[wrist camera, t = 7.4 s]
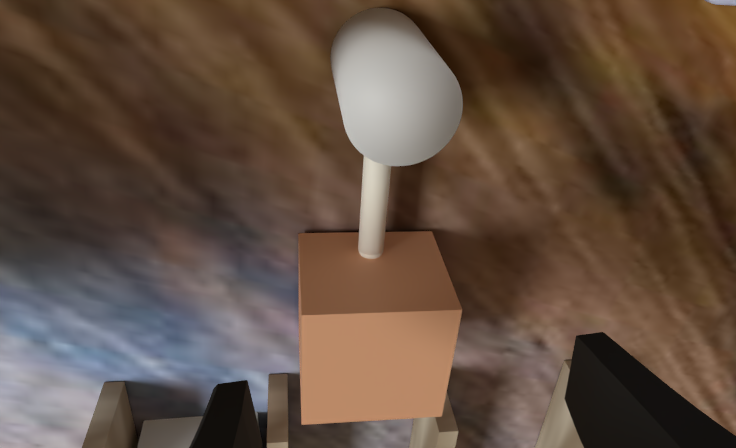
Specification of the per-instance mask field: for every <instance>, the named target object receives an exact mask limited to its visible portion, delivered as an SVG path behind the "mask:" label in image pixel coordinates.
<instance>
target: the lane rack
mask: <svg viewBox="0 0 736 448" xmlns="http://www.w3.org/2000/svg"><path fill="white" fill-rule="evenodd" d="M571 361H572V360H564V363H563V366H562V369H561V372H560V375H559V378H558V381H557V384H556V387H555V390H554V393H553V396H552V399H551V402H550V405H549V408H548V411H547V414H546V417H545V420H544V423H543V426H542V429H541V432H540V435H539V438H538V441H537V443H536V446H535V448H584V447H583V445H582V443H581V440H580V438H579V435H578V433H577V431H576V428H575V426H574V423H573V420H572V418H571V415H570V412H569V410H568V407H567V404H566V402H565V399H564V398H565V393H566V388H567V382H568V377H569V372H570V367H571ZM458 432H459V431H458V427H457V424H456V421H455V417H454V414H453V411H452V408H451V404H450V401H449V398H448V394H447V392H446V397H445V403H444V408H443V413H442V416H441V417H425V418H414V421H413V427H412V434H411V440H410V447H409V448H455V445H456V441H457V436H458ZM138 443H139V442H138V438H137V434H136V430H135V425H134V421H133V417H132V412H131V408H130V404H129V400H128V395H127V391H126V387H125V383H124V382H104V385H103V388H102V390H101V393H100V396H99V399H98V402H97V405H96V408H95V411H94V414H93V417H92V420H91V423H90V426H89V429H88V432H87V434H86V437H85V440H84V443H83V446H82V448H137V447H138ZM267 448H289V432H288V379H287V374H271V375H269V385H268V418H267Z"/></svg>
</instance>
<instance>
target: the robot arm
mask: <svg viewBox="0 0 736 448" xmlns="http://www.w3.org/2000/svg"><path fill="white" fill-rule="evenodd" d="M705 1H707V2H710V3H713V4H716V5H736V0H705ZM564 399H565V402H566V404H567V407H568V410H569V412H570V415H571V418H572V420H573V423H574V426H575V428H576V431H577V433H578V435H579V438H580V440H581V443H582V445H583V447H584V448H736V436H735V435H733V434H732V433H731V432H729V431H728V430H726V429H725V428H723V427H722V426H721V425H719V424H718V423H716V422H715V421H714V420H712V419H711V418H710V417H708V416H707V415H706V414H704V413H703V412H702V411H700V410H699V409H698V408H696V407H695V406H694V405H692V404H691V403H690V402H688V401H687V400H686V399H685V398H683V397H682V396H681V395H679V394H678V393H677V392H676V391H674V390H673V389H672V388H670V387H669V386H668V385H667V384H665V383H664V382H663V381H662V380H660V379H659V378H658V377H657V376H656V375H654V374H653V373H652V372H651V371H649V370H648V369H647V368H646V367H645V366H643V365H642V364H641V363H640V362H639V361H637V360H636V359H635V358H634V357H633V356H631V355H630V354H629V353H628V352H627V351H625V350H624V349H623V348H622V347H621V346H619V345H618V344H617V343H616V342H614V341H613V340H612V339H611V338H610V337H608V336H607V335H606V334H605V333H603V332H600V333H593V334H586V335H578V336H576V340H575V345H574V351H573V356H572V361H571V367H570V372H569V377H568V382H567V388H566V393H565V398H564ZM189 448H262V439H261V434H260V430H259V426H258V422H257V418H256V414H255V410H254V406H253V402H252V398H251V394H250V390H249V386H248V382H247V380H245V381H237V382H230V383H223V384H218V385H217V386H216V387H215V388H214V389H213V392H212V395H211V398H210V400H209V403H208V405H207V408H206V410H205V413H204V415H203V418H202V420H201V422H200V425H199V427H198V429H197V432H196V434H195V436H194V438H193V440H192V443H191V445H190V447H189Z"/></svg>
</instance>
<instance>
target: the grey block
mask: <svg viewBox="0 0 736 448" xmlns="http://www.w3.org/2000/svg"><path fill="white" fill-rule="evenodd" d="M255 414H256V418H257V422H258V426H259V419H258V412H255ZM202 418H203V416H198V417H184V418H171V419H158V420H145V421H144V423H143V427H142V431H141V435H140V439H139V443H138V447H137V448H189V447H190V445H191V443H192V440H193V438H194V436H195V434H196V432H197V429H198V427H199V425H200V422H201V420H202ZM259 430H260V429H259Z"/></svg>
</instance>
